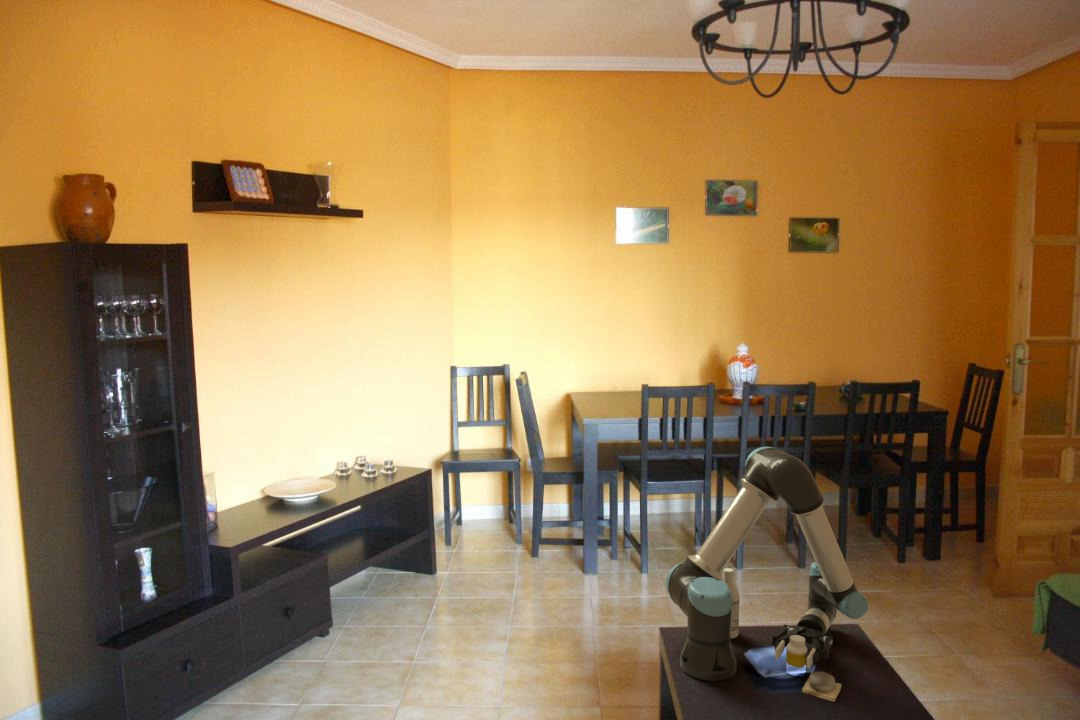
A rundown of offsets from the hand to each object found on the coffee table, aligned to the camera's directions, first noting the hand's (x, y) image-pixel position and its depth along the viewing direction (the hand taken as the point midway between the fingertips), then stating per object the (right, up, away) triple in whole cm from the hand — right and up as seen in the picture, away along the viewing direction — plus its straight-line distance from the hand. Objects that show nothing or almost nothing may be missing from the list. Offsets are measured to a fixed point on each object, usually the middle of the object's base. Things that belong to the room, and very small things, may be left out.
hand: (792, 658), depth 203 cm
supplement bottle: (+3, -6, +5) cm, 8 cm away
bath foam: (-11, -3, +27) cm, 29 cm away
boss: (+6, -6, -4) cm, 10 cm away
